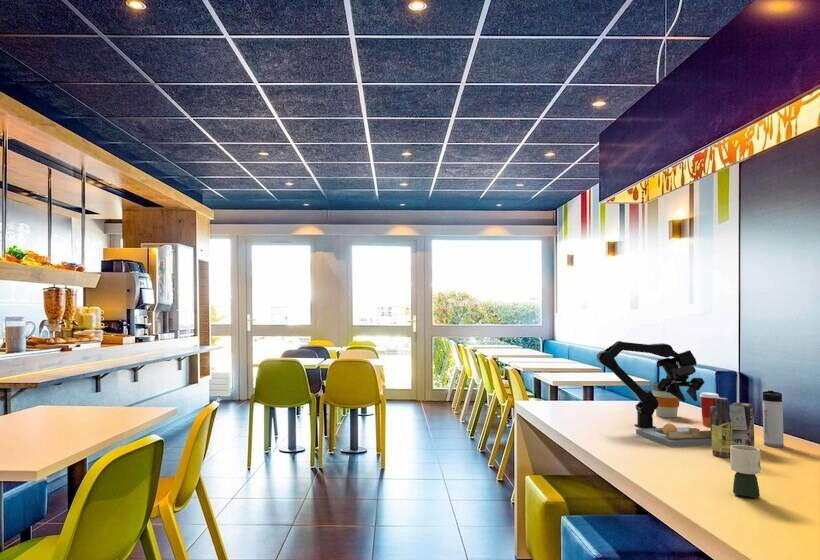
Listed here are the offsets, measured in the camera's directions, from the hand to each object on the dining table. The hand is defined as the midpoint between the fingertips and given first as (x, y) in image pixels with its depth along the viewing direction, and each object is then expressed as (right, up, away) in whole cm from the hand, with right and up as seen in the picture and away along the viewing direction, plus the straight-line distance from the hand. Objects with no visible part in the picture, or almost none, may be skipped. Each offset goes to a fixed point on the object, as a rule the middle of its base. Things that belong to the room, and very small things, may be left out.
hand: (690, 401), depth 225 cm
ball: (-15, -8, -13) cm, 21 cm away
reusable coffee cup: (+8, -16, +39) cm, 43 cm away
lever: (-7, -10, -16) cm, 20 cm away
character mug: (-23, -10, -74) cm, 78 cm away
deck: (-8, -13, -8) cm, 18 cm away
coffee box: (+8, -13, -22) cm, 27 cm away
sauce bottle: (-6, -12, -33) cm, 35 cm away
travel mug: (+22, -13, -18) cm, 31 cm away
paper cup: (+17, -15, +17) cm, 28 cm away
